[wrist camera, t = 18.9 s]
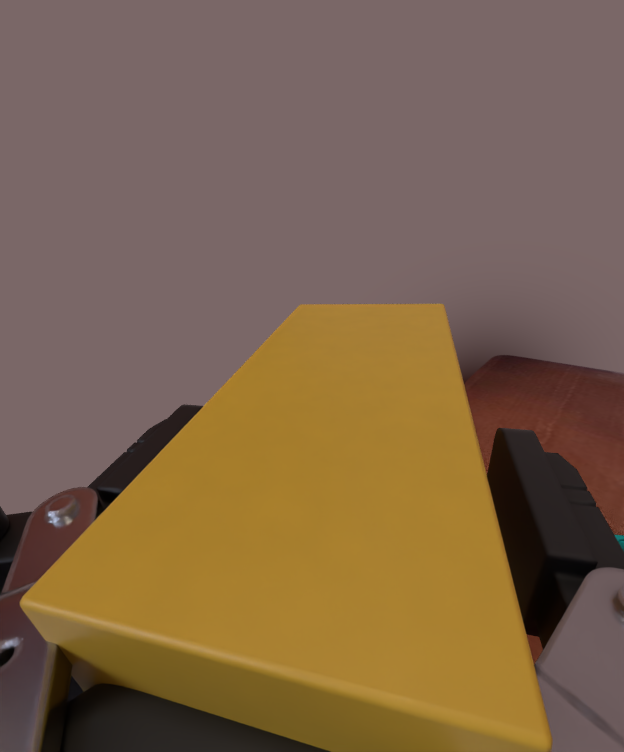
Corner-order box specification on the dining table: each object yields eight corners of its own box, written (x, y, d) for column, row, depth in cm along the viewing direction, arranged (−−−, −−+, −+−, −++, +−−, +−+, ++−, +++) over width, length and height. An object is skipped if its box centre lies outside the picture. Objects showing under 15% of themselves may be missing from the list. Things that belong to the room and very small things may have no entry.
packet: (199, 850, 9) (8, 602, 4) (315, 489, 19) (298, 303, 14) (444, 955, 7) (567, 753, 3) (426, 503, 18) (446, 302, 13)
